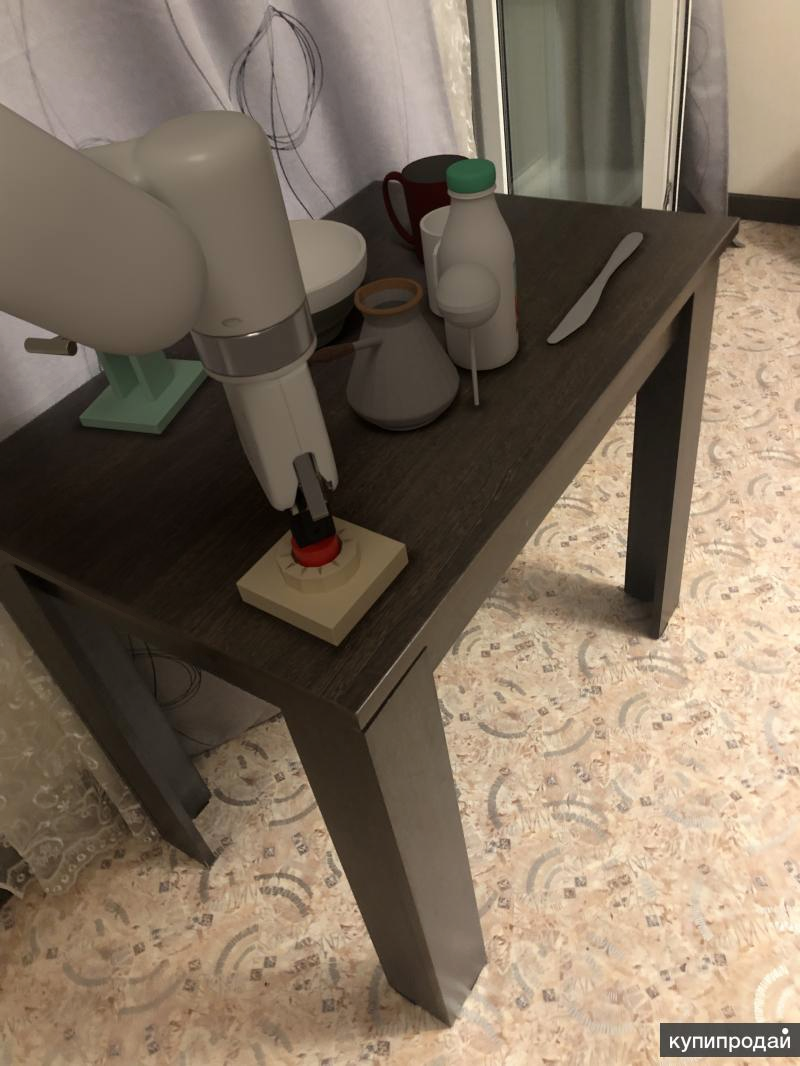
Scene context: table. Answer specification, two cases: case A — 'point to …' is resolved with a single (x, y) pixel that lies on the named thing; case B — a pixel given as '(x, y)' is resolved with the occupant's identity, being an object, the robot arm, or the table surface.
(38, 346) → the lever handle
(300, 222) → the bowl
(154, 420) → the green lever stand
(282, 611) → the block
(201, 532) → the table surface
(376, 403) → the coffee pot
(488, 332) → the milk bottle
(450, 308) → the lollipop
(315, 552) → the button
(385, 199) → the mug
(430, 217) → the cup
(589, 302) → the butter knife
